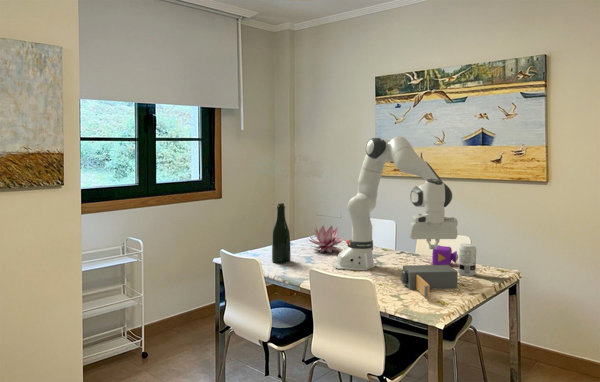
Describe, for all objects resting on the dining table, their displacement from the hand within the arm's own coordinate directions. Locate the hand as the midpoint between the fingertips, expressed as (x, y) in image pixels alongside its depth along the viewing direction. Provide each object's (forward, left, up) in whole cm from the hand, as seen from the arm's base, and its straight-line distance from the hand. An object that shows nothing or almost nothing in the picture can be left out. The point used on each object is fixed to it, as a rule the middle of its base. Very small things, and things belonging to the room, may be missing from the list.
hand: (432, 249), depth 210 cm
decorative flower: (-36, +89, -21) cm, 98 cm away
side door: (-4, +1, -20) cm, 20 cm away
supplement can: (+29, +33, -21) cm, 49 cm away
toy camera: (+25, +53, -21) cm, 62 cm away
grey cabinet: (+4, +16, -21) cm, 27 cm away
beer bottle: (-64, +66, -21) cm, 94 cm away
